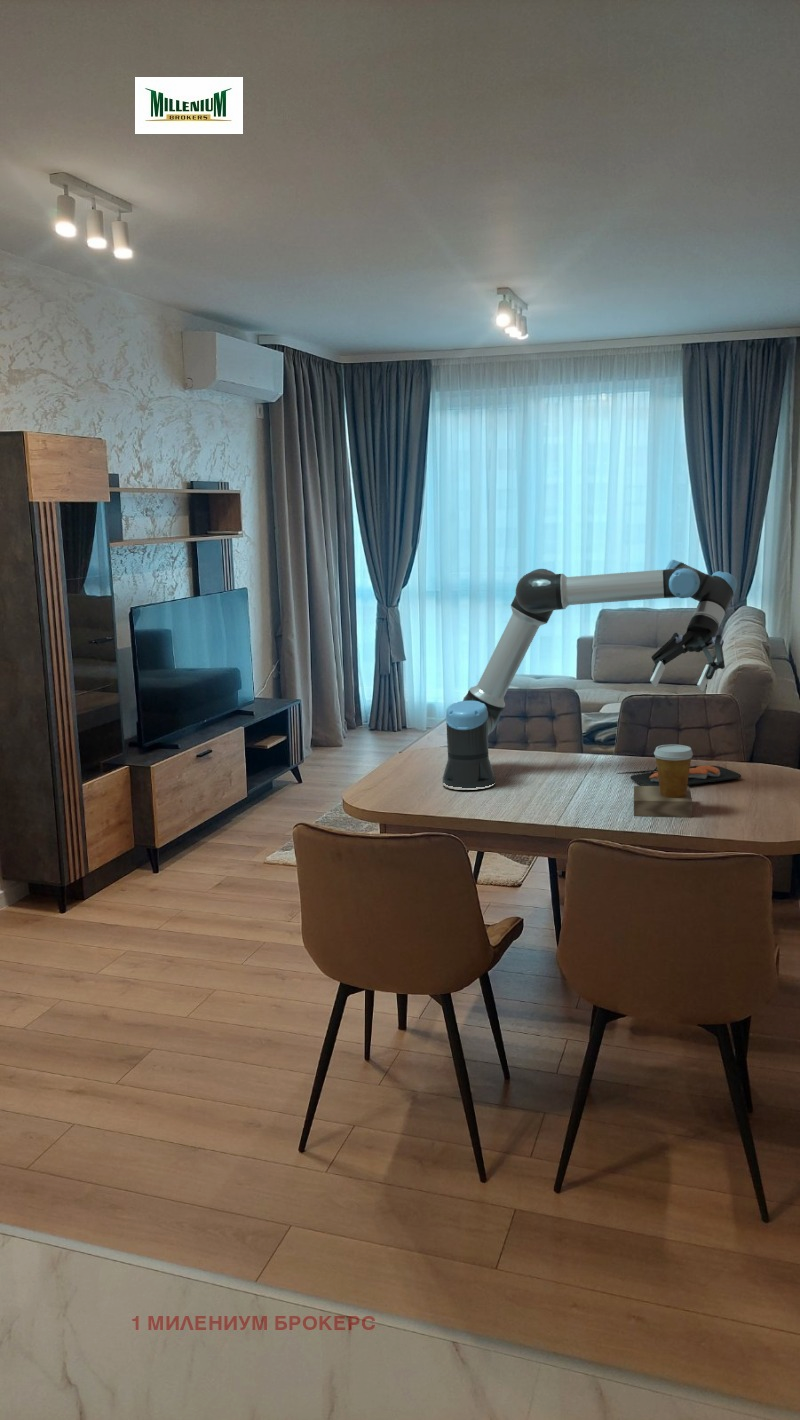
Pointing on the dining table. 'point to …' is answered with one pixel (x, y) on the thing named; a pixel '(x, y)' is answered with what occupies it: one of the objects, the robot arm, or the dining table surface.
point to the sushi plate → (695, 775)
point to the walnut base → (660, 803)
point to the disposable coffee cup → (673, 769)
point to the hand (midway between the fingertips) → (676, 685)
